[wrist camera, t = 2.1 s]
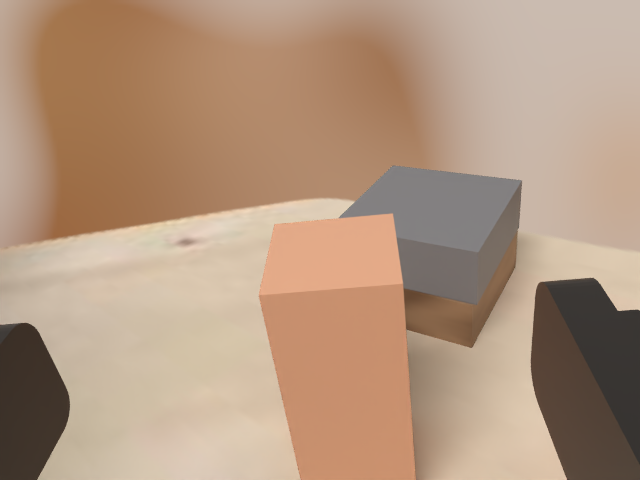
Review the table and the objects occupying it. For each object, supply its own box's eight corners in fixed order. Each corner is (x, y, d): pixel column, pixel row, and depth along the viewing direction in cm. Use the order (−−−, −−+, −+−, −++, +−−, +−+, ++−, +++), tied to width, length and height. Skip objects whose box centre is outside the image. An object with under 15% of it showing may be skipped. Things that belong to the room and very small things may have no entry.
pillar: (306, 505, 26) (258, 295, 20) (312, 419, 30) (274, 224, 24) (416, 500, 25) (403, 283, 19) (406, 413, 29) (392, 213, 23)
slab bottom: (340, 314, 38) (334, 272, 36) (397, 247, 44) (395, 208, 42) (471, 352, 33) (472, 305, 31) (514, 271, 40) (517, 228, 38)
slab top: (337, 272, 36) (330, 225, 34) (395, 208, 42) (392, 165, 40) (477, 305, 31) (478, 252, 30) (518, 227, 38) (521, 180, 36)
